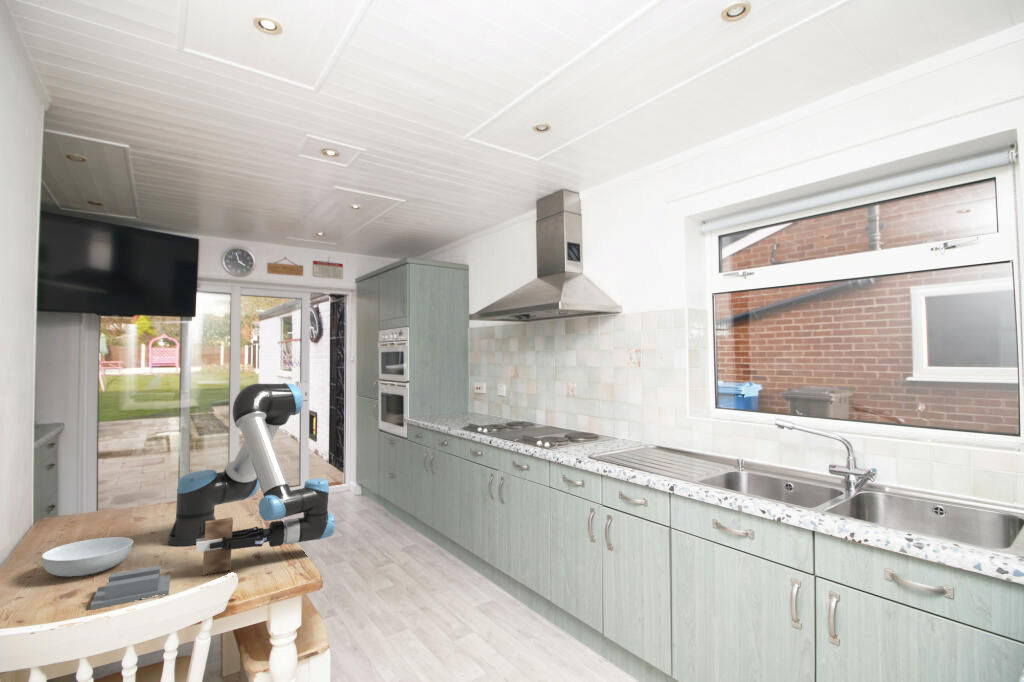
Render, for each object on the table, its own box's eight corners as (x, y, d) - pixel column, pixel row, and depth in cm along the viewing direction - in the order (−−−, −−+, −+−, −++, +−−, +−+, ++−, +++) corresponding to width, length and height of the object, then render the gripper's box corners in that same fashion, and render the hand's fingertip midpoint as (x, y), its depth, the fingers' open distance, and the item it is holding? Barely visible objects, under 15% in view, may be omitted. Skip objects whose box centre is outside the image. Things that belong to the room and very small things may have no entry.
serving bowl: (148, 558, 156) (149, 536, 156) (94, 585, 135) (96, 560, 135) (81, 557, 155) (83, 535, 156) (17, 585, 134) (19, 560, 135)
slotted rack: (170, 578, 140) (171, 562, 140) (168, 594, 130) (169, 576, 130) (97, 591, 131) (99, 574, 131) (90, 609, 121) (91, 590, 121)
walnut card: (229, 567, 148) (232, 517, 149) (230, 570, 146) (232, 519, 147) (202, 572, 144) (205, 521, 145) (202, 575, 142) (205, 523, 143)
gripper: (286, 551, 149) (195, 567, 136) (279, 537, 162) (195, 550, 149) (287, 526, 149) (197, 540, 136) (280, 514, 162) (196, 525, 149)
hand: (196, 545), depth 143 cm, fingers closed on walnut card, 2 cm apart
